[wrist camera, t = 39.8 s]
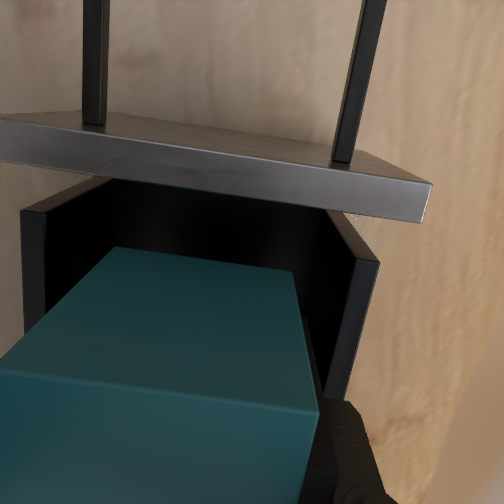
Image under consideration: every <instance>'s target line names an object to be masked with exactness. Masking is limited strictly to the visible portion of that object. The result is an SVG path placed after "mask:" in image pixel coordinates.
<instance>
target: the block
mask: <svg viewBox="0 0 504 504" xmlns="http://www.w3.org/2000/svg"><path fill="white" fill-rule="evenodd" d="M319 414H320V413H319V408H318V403H317V398H316V393H315V388H314V382H313V377H312V372H311V367H310V362H309V357H308V352H307V346H306V341H305V336H304V331H303V326H302V321H301V315H300V310H299V305H298V300H297V295H296V290H295V285H294V279H293V274H292V272H290V271H283V270H276V269H269V268H262V267H255V266H248V265H241V264H234V263H227V262H220V261H214V260H207V259H200V258H193V257H186V256H179V255H172V254H165V253H158V252H151V251H144V250H137V249H130V248H123V247H114V248H113V249H112V250H111V251H110V252H109V253H108V254H107V255H106V256H105V257H104V258H103V259H102V260H101V261H100V262H99V263H98V264H97V265H96V266H95V267H94V268H93V269H92V270H90V271H89V272H88V273H87V274H86V275H85V276H84V277H83V278H82V279H81V280H80V281H79V282H78V283H77V284H76V285H75V286H74V287H73V288H72V289H71V290H70V291H69V292H68V293H67V294H66V295H65V296H64V297H63V298H62V299H61V300H60V301H59V302H58V303H57V304H56V305H55V306H54V307H53V308H52V309H51V310H50V311H49V312H48V313H47V314H46V315H45V316H44V317H43V318H42V319H41V320H40V321H38V322H37V323H36V324H35V325H34V326H33V327H32V328H31V329H30V330H29V331H28V332H27V333H26V334H25V335H24V336H23V337H22V338H21V339H20V340H19V341H18V342H17V343H16V344H15V345H14V346H13V347H12V348H11V349H10V350H9V351H8V352H7V353H6V354H5V355H4V356H3V357H2V358H1V359H0V504H298V501H299V497H300V492H301V488H302V484H303V480H304V476H305V472H306V468H307V464H308V460H309V455H310V451H311V447H312V443H313V439H314V435H315V431H316V427H317V423H318V418H319Z"/></svg>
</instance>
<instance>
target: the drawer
mask: <svg viewBox="0 0 504 504" xmlns="http://www.w3.org/2000/svg"><path fill="white" fill-rule="evenodd" d="M386 2H387V0H363V1H362V6H361V10H360V15H359V20H358V25H357V30H356V35H355V40H354V45H353V49H352V54H351V59H350V64H349V69H348V74H347V79H346V84H345V88H344V93H343V98H342V103H341V108H340V113H339V118H338V122H337V127H336V132H335V137H334V142H333V146H329V145H322V144H316V143H309V142H303V141H296V140H290V139H283V138H277V137H270V136H264V135H257V134H251V133H244V132H238V131H231V130H225V129H218V128H212V127H205V126H198V125H192V124H185V123H179V122H172V121H166V120H159V119H153V118H146V117H140V116H133V115H127V114H120V113H114V112H107V83H108V50H109V18H110V0H83V71H82V110H77V111H57V112H38V113H19V114H0V162H7V163H14V164H20V165H27V166H34V167H41V168H47V169H54V170H61V171H68V172H74V173H81V174H88V175H95V176H94V177H92V178H90V179H88V180H85V181H83V182H81V183H79V184H77V185H74V186H72V187H70V188H68V189H66V190H64V191H61V192H59V193H57V194H55V195H53V196H50V197H48V198H46V199H44V200H42V201H40V202H37V203H35V204H33V205H31V206H29V207H26V208H24V209H22V210H21V211H20V231H21V258H22V286H23V313H24V335H25V334H26V333H27V332H28V331H29V330H30V329H31V328H32V327H33V326H34V325H35V324H36V323H37V322H38V321H40V320H41V319H42V318H43V317H44V316H45V315H46V314H47V313H48V312H49V311H50V310H51V309H52V308H53V307H54V306H55V305H56V304H57V303H58V302H59V301H60V300H61V299H62V298H63V297H64V296H65V295H66V294H67V293H68V292H69V291H70V290H71V289H72V288H73V287H74V286H75V285H76V284H77V283H78V282H79V281H80V280H81V279H82V278H83V277H84V276H85V275H86V274H87V273H88V272H89V271H90V270H92V269H93V268H94V267H95V266H96V265H97V264H98V263H99V262H100V261H101V260H102V259H103V258H104V257H105V256H106V255H107V254H108V253H109V252H110V251H111V250H112V249H113V248H114V247H123V248H130V249H137V250H144V251H151V252H158V253H165V254H172V255H179V256H186V257H193V258H200V259H207V260H214V261H220V262H227V263H234V264H241V265H248V266H255V267H262V268H269V269H276V270H283V271H290V272H292V274H293V279H294V285H295V290H296V295H297V300H298V305H299V310H300V315H301V317H306V318H307V322H308V327H309V332H310V336H311V341H312V346H313V350H314V355H315V360H316V364H317V369H318V373H319V378H320V383H321V387H322V392H323V397H324V398H328V399H336V400H343V401H344V397H345V394H346V390H347V386H348V382H349V379H350V375H351V371H352V367H353V364H354V360H355V356H356V352H357V349H358V345H359V341H360V337H361V333H362V330H363V326H364V322H365V318H366V315H367V311H368V307H369V303H370V300H371V296H372V292H373V288H374V285H375V281H376V277H377V273H378V270H379V266H380V261H379V260H378V259H377V257H376V256H375V255H374V253H373V252H372V251H371V250H370V248H369V247H368V246H367V244H366V243H365V242H364V240H363V239H362V238H361V236H360V235H359V234H358V232H357V231H356V230H355V228H354V227H353V226H352V224H351V223H350V222H349V220H348V219H347V218H346V216H345V215H344V214H343V212H345V213H351V214H358V215H365V216H372V217H378V218H385V219H392V220H399V221H405V222H412V223H419V224H420V223H422V221H423V217H424V214H425V211H426V207H427V204H428V200H429V197H430V193H431V190H432V187H433V184H432V183H430V182H428V181H426V180H424V179H422V178H419V177H417V176H415V175H413V174H411V173H409V172H407V171H405V170H403V169H401V168H398V167H396V166H394V165H392V164H390V163H388V162H386V161H384V160H382V159H380V158H377V157H375V156H373V155H371V154H369V153H367V152H365V151H361V150H355V149H354V146H355V142H356V137H357V133H358V128H359V124H360V119H361V115H362V110H363V106H364V101H365V97H366V92H367V88H368V83H369V79H370V74H371V70H372V65H373V61H374V56H375V52H376V47H377V43H378V38H379V34H380V29H381V25H382V20H383V16H384V11H385V7H386Z"/></svg>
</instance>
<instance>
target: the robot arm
mask: <svg viewBox="0 0 504 504" xmlns="http://www.w3.org/2000/svg"><path fill="white" fill-rule="evenodd" d="M301 321H302V326H303V331H304V336H305V341H306V346H307V352H308V357H309V362H310V367H311V372H312V377H313V382H314V388H315V393H316V398H317V403H318V408H319V413H320V414H319V418H318V423H317V427H316V431H315V435H314V439H313V443H312V447H311V451H310V455H309V460H308V464H307V468H306V472H305V476H304V480H303V484H302V488H301V492H300V497H299V501H298V504H398V503H397V502H396V501H395V500H393V499H392V498H391V497H390V496H389V495H388V494H386V492H385V489H384V486H383V483H382V480H381V477H380V474H379V471H378V468H377V465H376V461H375V458H374V455H373V452H372V449H371V446H370V445H369V440H368V437H367V433H365V427H364V424H363V421H362V418H361V415H360V414H359V412H358V411H357V410H356V409H355V408H354V406H353V405H352V404H351V403H350V402H349V401H343V400H336V399H328V398H324V397H323V392H322V387H321V383H320V378H319V373H318V369H317V364H316V360H315V355H314V350H313V346H312V341H311V336H310V332H309V327H308V322H307V318H306V317H301ZM0 359H1V358H0Z"/></svg>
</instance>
